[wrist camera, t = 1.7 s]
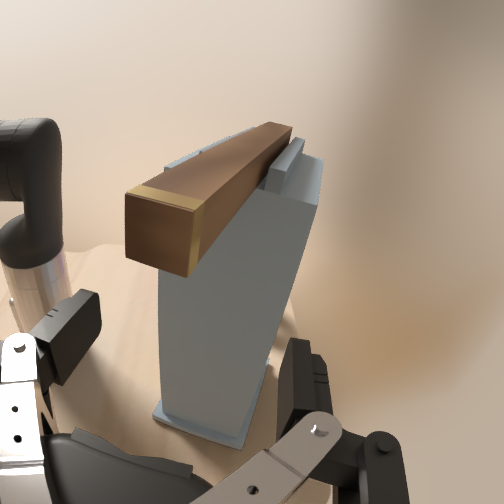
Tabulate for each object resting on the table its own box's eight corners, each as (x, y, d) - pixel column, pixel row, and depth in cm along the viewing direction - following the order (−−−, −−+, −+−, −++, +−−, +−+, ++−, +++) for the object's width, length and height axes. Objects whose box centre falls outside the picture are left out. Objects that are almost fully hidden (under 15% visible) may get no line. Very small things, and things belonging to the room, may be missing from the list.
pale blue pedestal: (152, 418, 35) (145, 144, 18) (195, 339, 49) (226, 119, 32) (241, 450, 34) (341, 192, 17) (267, 363, 47) (337, 146, 30)
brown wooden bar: (125, 257, 10) (124, 193, 9) (264, 144, 31) (269, 121, 30) (186, 278, 10) (193, 211, 9) (287, 149, 31) (292, 127, 29)
